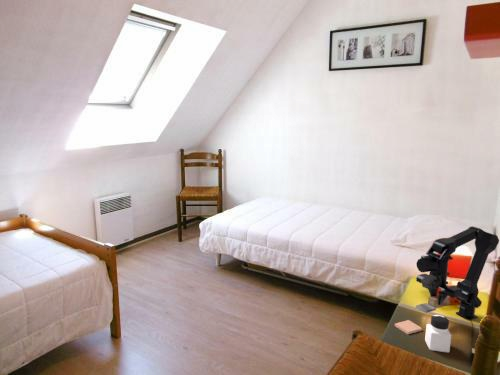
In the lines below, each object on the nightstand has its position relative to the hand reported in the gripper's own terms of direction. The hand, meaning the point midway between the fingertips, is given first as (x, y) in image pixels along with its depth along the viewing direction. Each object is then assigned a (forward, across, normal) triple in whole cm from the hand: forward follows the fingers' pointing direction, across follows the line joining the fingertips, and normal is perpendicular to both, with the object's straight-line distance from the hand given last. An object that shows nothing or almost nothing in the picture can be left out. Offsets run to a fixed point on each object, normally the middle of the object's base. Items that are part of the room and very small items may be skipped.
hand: (436, 303), depth 160 cm
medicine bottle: (+8, +14, -16) cm, 23 cm away
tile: (+8, 0, -12) cm, 14 cm away
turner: (+1, 0, -2) cm, 2 cm away
